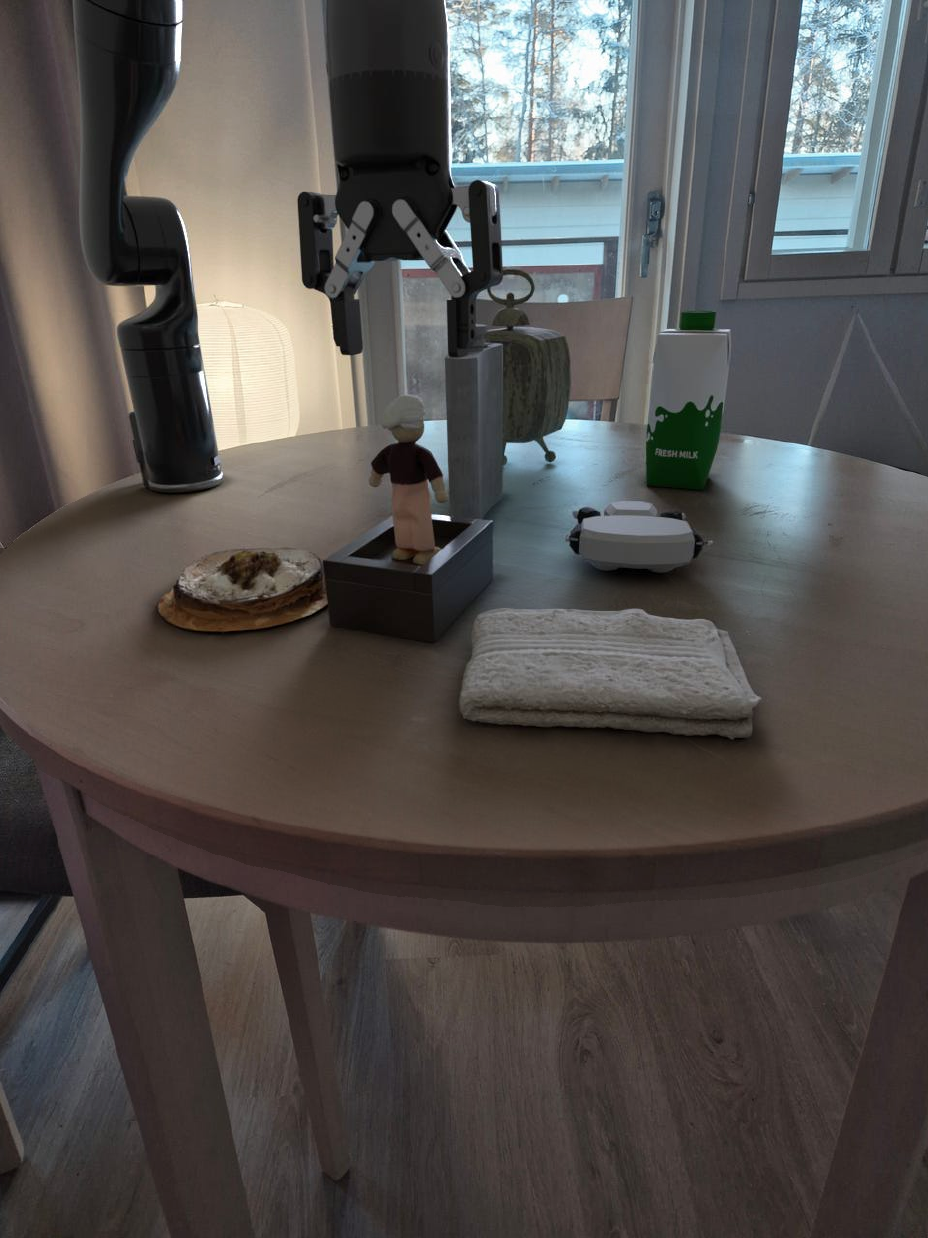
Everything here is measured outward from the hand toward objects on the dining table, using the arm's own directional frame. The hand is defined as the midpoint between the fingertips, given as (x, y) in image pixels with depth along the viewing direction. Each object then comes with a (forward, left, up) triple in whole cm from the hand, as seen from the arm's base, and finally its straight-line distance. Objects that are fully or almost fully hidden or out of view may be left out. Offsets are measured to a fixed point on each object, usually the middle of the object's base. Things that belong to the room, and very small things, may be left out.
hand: (403, 355), depth 51 cm
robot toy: (+15, +16, -20) cm, 29 cm away
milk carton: (+16, +45, -20) cm, 52 cm away
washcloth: (+17, -8, -20) cm, 27 cm away
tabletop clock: (-8, +48, -20) cm, 53 cm away
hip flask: (-4, +24, -20) cm, 31 cm away
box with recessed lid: (0, 0, -19) cm, 19 cm away
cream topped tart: (-14, -4, -20) cm, 24 cm away
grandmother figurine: (0, 0, -16) cm, 16 cm away
